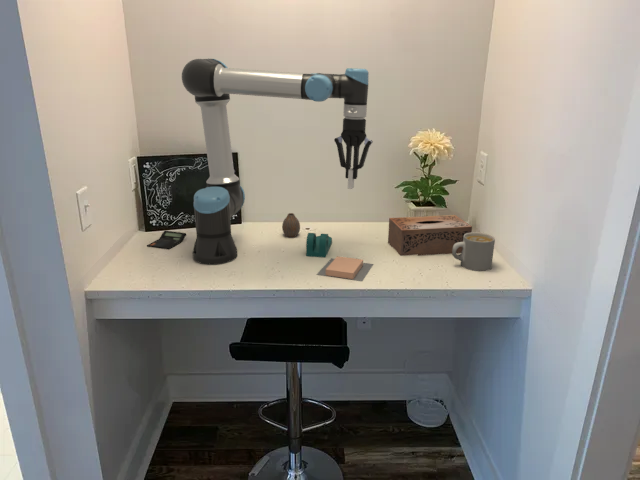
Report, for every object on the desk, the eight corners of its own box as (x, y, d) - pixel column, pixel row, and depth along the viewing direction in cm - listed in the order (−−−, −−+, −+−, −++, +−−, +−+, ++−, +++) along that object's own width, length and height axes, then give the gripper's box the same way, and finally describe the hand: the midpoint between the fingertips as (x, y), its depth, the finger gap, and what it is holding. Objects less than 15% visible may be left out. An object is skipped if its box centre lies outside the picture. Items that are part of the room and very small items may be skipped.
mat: (316, 275, 160) (316, 274, 160) (331, 259, 173) (331, 258, 173) (362, 282, 155) (362, 281, 155) (373, 265, 168) (373, 264, 168)
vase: (280, 233, 199) (280, 212, 196) (297, 232, 201) (297, 210, 198) (284, 239, 192) (284, 217, 190) (302, 237, 194) (302, 215, 192)
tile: (337, 262, 170) (325, 275, 159) (337, 256, 169) (325, 269, 158) (363, 265, 167) (353, 279, 156) (363, 259, 166) (353, 273, 155)
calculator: (147, 247, 184) (146, 239, 183) (165, 237, 194) (165, 230, 193) (169, 250, 181) (168, 242, 180) (186, 240, 192) (186, 232, 191)
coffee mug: (488, 260, 173) (491, 233, 170) (493, 271, 164) (497, 243, 160) (448, 258, 175) (451, 231, 171) (451, 269, 165) (454, 240, 162)
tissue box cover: (400, 257, 176) (401, 230, 173) (387, 243, 189) (389, 218, 186) (469, 253, 180) (472, 226, 177) (452, 239, 194) (454, 214, 190)
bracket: (325, 259, 174) (325, 237, 171) (306, 257, 175) (306, 236, 172) (333, 241, 191) (333, 222, 188) (315, 240, 192) (315, 220, 189)
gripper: (332, 117, 164) (329, 188, 172) (371, 120, 160) (366, 192, 168) (338, 115, 171) (335, 183, 179) (376, 118, 167) (371, 187, 175)
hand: (350, 187), depth 173 cm, fingers closed
